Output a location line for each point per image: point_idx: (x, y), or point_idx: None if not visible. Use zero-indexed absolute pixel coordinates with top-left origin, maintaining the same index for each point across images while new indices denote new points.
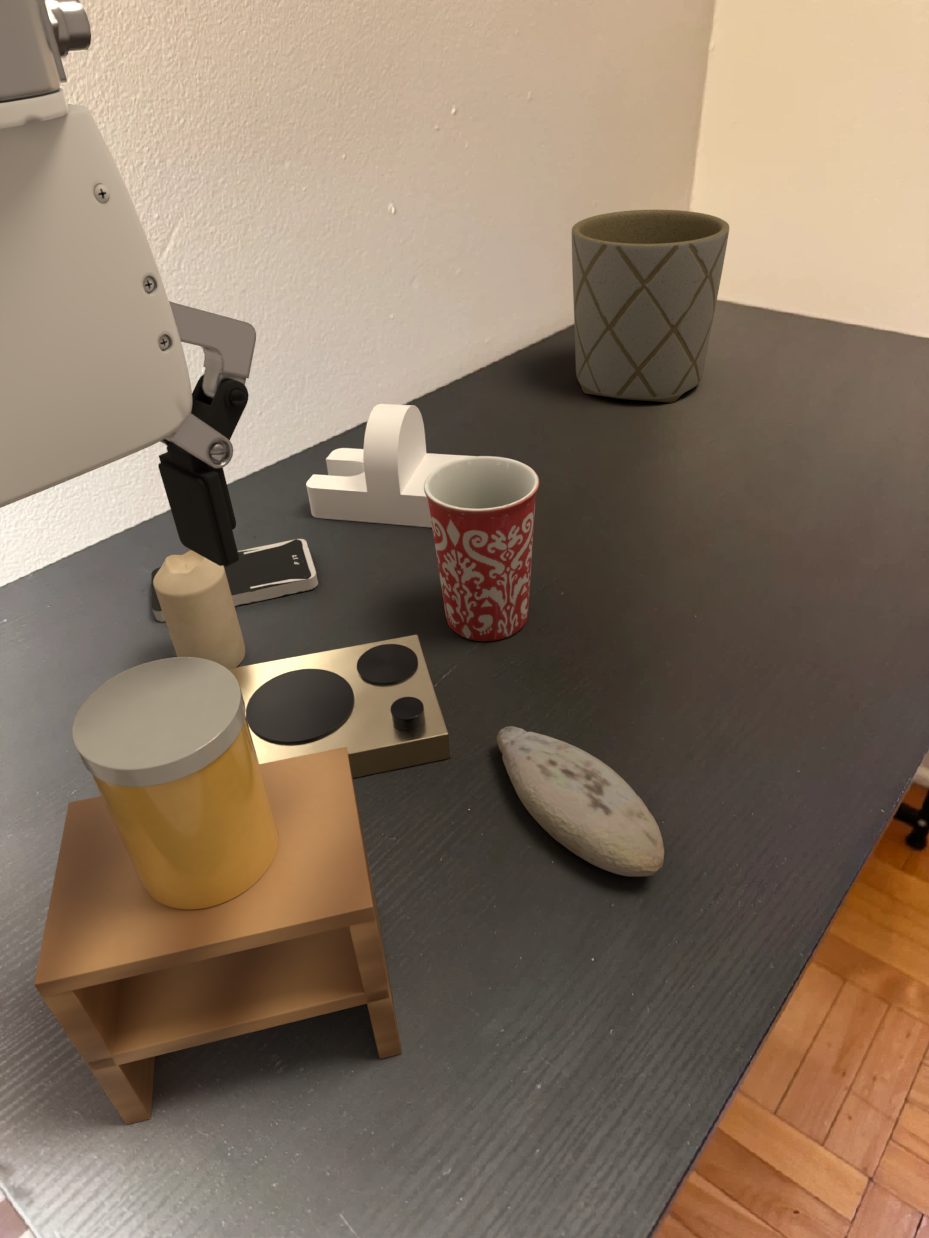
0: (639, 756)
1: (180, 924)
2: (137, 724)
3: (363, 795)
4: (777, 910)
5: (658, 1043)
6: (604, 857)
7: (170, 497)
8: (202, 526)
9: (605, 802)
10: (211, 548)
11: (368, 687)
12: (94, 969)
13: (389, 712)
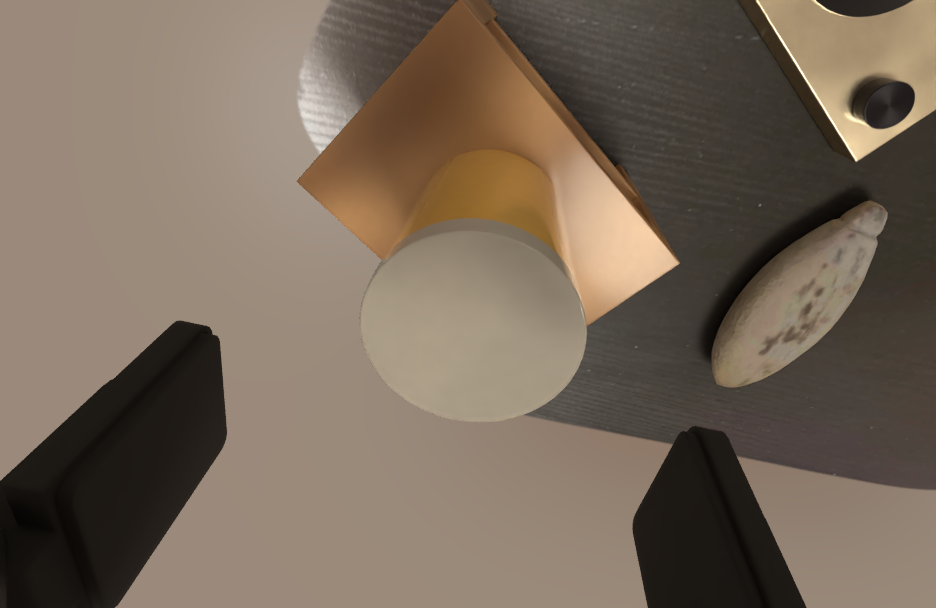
0: (870, 319)
1: None
2: (435, 335)
3: (751, 88)
4: None
5: (592, 393)
6: (718, 351)
7: (717, 538)
8: (660, 572)
9: (774, 347)
10: (645, 536)
11: None
12: (338, 219)
13: (888, 68)
